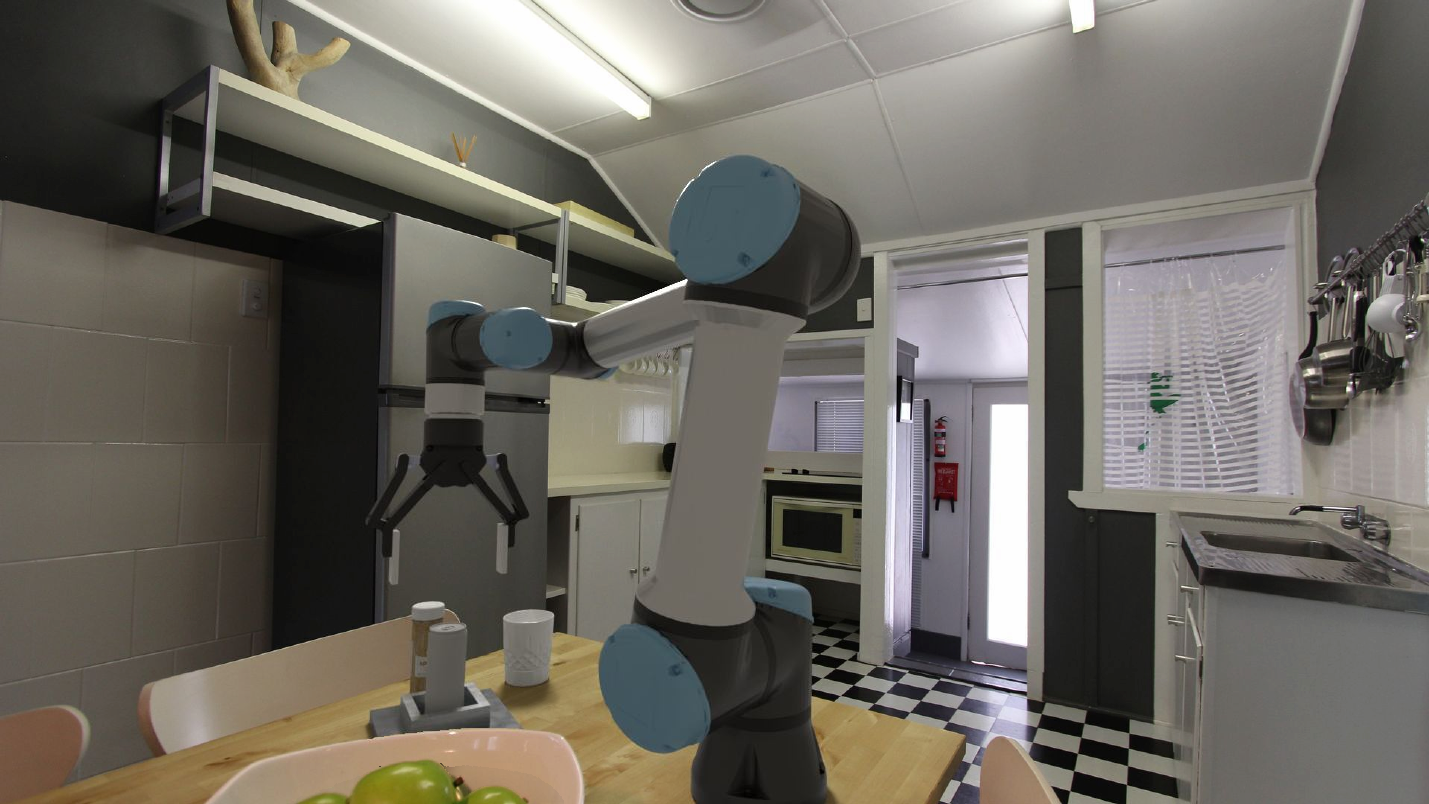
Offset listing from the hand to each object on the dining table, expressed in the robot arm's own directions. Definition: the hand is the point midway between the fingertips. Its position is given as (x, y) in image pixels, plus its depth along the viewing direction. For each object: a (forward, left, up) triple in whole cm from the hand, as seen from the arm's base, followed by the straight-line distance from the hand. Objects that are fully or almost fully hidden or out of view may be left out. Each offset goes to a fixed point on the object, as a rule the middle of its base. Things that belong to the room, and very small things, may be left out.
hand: (449, 577), depth 89 cm
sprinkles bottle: (+14, 0, -20) cm, 25 cm away
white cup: (+13, -15, -20) cm, 28 cm away
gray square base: (0, 0, -20) cm, 20 cm away
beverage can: (0, 0, -19) cm, 19 cm away
